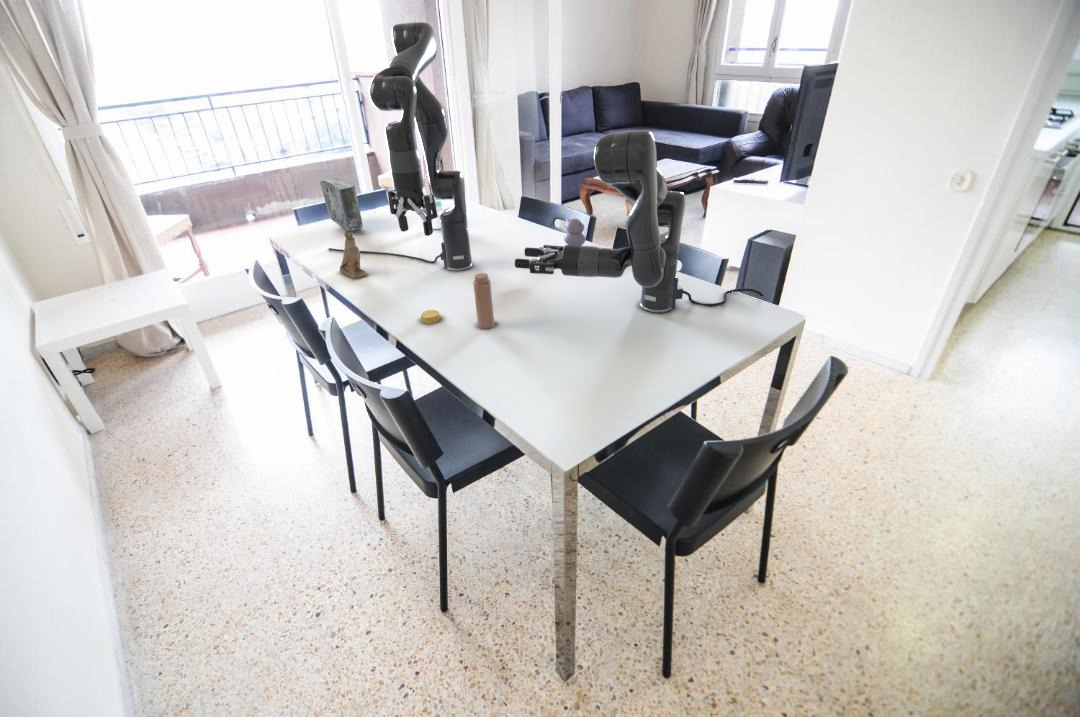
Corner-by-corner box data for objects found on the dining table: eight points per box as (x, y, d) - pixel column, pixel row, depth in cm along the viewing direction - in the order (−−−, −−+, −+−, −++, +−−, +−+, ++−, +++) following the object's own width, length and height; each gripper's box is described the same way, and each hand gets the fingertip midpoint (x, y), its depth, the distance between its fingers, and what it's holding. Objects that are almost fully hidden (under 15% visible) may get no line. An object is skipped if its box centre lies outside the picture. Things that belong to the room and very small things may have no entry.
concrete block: (368, 232, 220) (358, 186, 209) (348, 237, 216) (336, 189, 205) (349, 220, 239) (338, 176, 228) (330, 223, 234) (319, 179, 224)
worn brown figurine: (368, 281, 178) (362, 235, 166) (353, 285, 175) (347, 238, 163) (352, 266, 184) (346, 221, 172) (338, 270, 181) (331, 224, 169)
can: (445, 229, 220) (441, 202, 214) (429, 230, 220) (425, 202, 214) (447, 224, 226) (444, 198, 220) (432, 225, 226) (428, 198, 220)
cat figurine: (589, 249, 191) (590, 218, 185) (577, 255, 187) (577, 223, 180) (572, 245, 196) (572, 214, 190) (559, 250, 192) (559, 219, 185)
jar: (491, 320, 144) (487, 271, 136) (496, 326, 140) (492, 277, 132) (476, 323, 142) (470, 274, 134) (480, 330, 138) (475, 280, 131)
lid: (420, 324, 143) (419, 318, 142) (423, 316, 147) (422, 310, 146) (439, 323, 143) (438, 317, 142) (441, 314, 147) (440, 309, 146)
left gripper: (374, 169, 124) (387, 233, 132) (416, 173, 117) (427, 240, 126) (396, 164, 129) (407, 225, 138) (437, 167, 123) (446, 232, 131)
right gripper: (587, 237, 127) (527, 234, 131) (576, 256, 116) (510, 252, 119) (587, 265, 131) (528, 261, 135) (576, 286, 119) (512, 281, 123)
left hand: (416, 232), depth 132 cm, fingers open, 8 cm apart
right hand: (520, 257), depth 127 cm, fingers open, 8 cm apart
